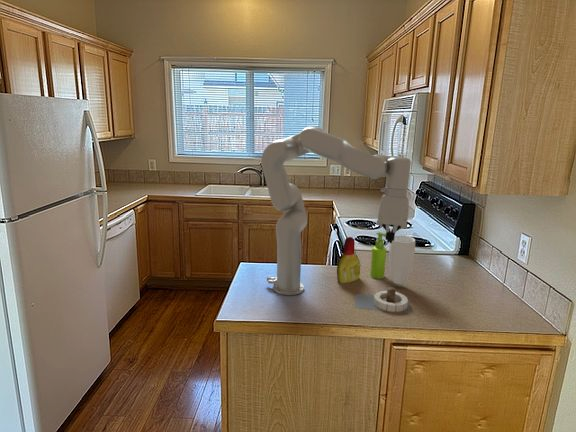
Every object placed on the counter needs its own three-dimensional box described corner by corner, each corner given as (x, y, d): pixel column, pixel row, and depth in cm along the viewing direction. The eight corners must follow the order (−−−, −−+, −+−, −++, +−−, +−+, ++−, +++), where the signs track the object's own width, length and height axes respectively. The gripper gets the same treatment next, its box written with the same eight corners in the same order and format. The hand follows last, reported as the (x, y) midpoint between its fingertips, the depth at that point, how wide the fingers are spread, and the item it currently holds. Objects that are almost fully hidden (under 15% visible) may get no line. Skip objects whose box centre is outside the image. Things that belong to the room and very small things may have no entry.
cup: (393, 295, 159) (398, 243, 153) (380, 284, 168) (384, 235, 163) (416, 292, 161) (421, 241, 156) (402, 282, 171) (407, 234, 166)
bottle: (341, 287, 165) (344, 241, 160) (331, 282, 170) (333, 237, 165) (362, 281, 171) (365, 236, 166) (352, 276, 176) (355, 232, 171)
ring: (374, 309, 145) (374, 303, 144) (373, 295, 156) (374, 289, 155) (408, 313, 142) (409, 306, 142) (405, 298, 154) (406, 292, 153)
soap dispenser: (380, 280, 172) (383, 236, 167) (367, 275, 178) (370, 232, 172) (388, 277, 176) (392, 233, 171) (376, 272, 181) (379, 230, 176)
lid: (382, 307, 146) (383, 292, 145) (380, 299, 153) (381, 284, 151) (400, 308, 146) (401, 293, 144) (397, 300, 152) (399, 286, 150)
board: (354, 310, 146) (354, 307, 146) (355, 295, 158) (355, 293, 157) (411, 316, 142) (411, 313, 142) (408, 301, 154) (408, 298, 154)
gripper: (374, 192, 139) (368, 242, 143) (418, 196, 136) (411, 247, 141) (374, 188, 146) (368, 236, 150) (416, 192, 143) (409, 241, 148)
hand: (389, 241), depth 146 cm, fingers closed
